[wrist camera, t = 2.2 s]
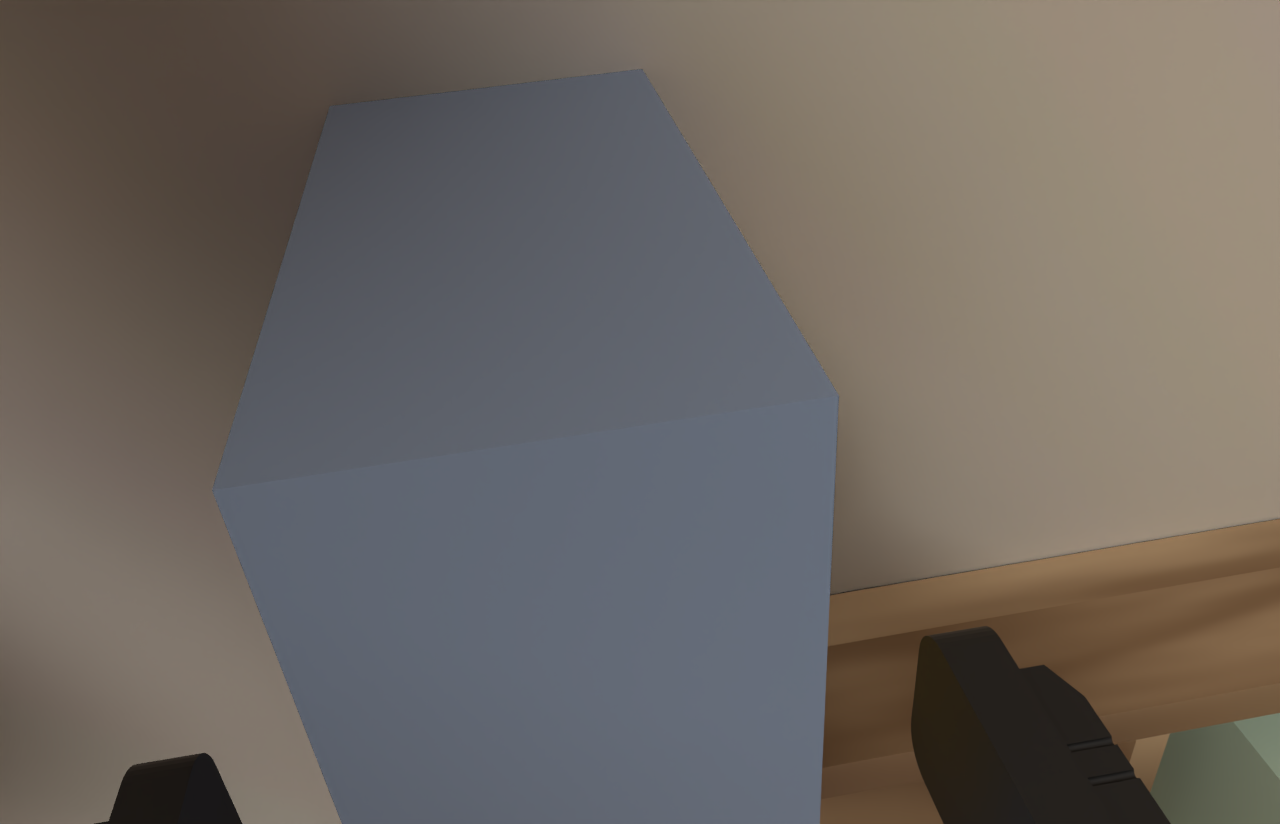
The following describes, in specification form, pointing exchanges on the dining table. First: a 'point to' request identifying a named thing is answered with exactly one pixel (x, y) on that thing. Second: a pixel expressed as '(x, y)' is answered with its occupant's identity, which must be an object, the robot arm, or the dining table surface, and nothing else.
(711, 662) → the tea box
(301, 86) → the dining table surface
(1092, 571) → the shelf
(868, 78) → the dining table surface
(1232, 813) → the sage box
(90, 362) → the dining table surface
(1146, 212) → the dining table surface
